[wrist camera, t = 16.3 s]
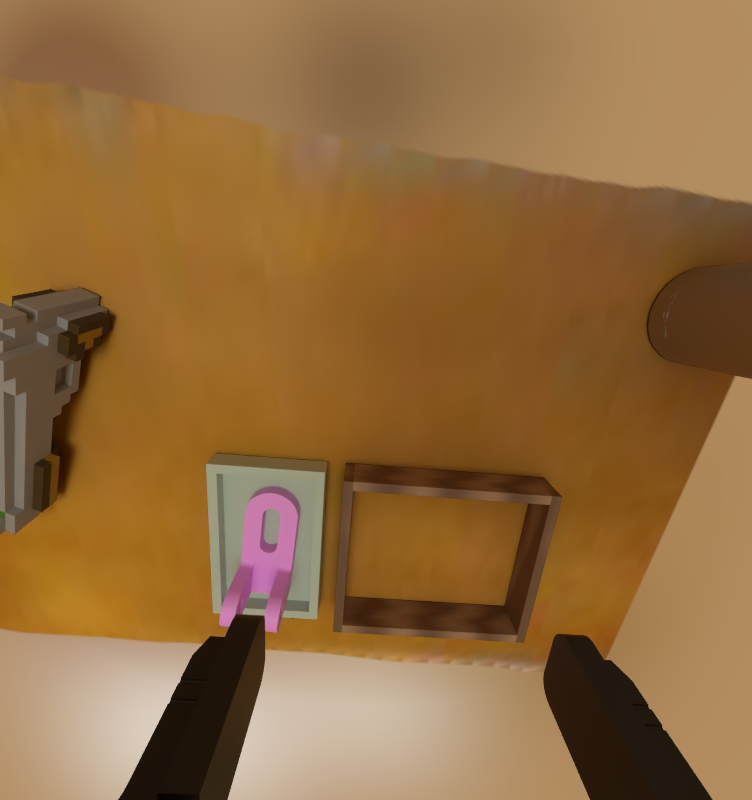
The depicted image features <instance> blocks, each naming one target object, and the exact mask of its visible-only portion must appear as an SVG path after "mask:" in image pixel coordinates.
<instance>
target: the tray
mask: <svg viewBox="0 0 752 800" xmlns="http://www.w3.org/2000/svg"><path fill="white" fill-rule="evenodd" d="M327 469H328V462H325V461H312V460H298V459H285V458H271V457H258V456H244V455H231V454H217V453H216V454H215V455H214V456H213V457H212V458H211V459H210V460H209V461H208V462H207V463H206V475H207V496H208V517H209V538H210V559H211V579H212V600H213V613H218V614H221V609H222V605H223V602H224V599H225V596H226V593H227V591H228V589H229V587H230V585H231V583H232V581H233V579H234V577H235V575H236V573H237V571H238V568H239V566H240V563H241V557H242V544H243V532H244V520H245V510H246V507H247V505H248V503H249V501H250V500H251V498H252V496H253V495H254V494H255V493H256V492H257V491H259V490H260V489H262V488H265V487H270V486H276V487H281V488H284V489H286V490H288V491H290V492H291V493H292V494H293V495H294V496H295V497H296V498H297V500H298V502H299V505H300V517H299V525H298V533H297V541H296V548H295V556H294V564H293V572H292V580H291V587H290V591H289V594H288V598H287V602H286V605H285V609H284V612H283V616H282V617H287V618H304V619H317V617H318V611H319V605H320V595H321V577H322V559H323V541H324V523H325V505H326V487H327ZM279 524H280V514H279V512H278V511H277V510H275V509H267V510H266V517H265V527H264V540H265V542H266V543H268V544H277V542H278V533H279ZM269 596H270V594H264V593H256V592H251V594H250V596H249V598H248V601H247V603H246V606H245V608H244V611H243V613H242V614H248V615H265V610H266V606H267V602H268V599H269Z"/></svg>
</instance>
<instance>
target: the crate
mask: <svg viewBox="0 0 752 800" xmlns="http://www.w3.org/2000/svg"><path fill="white" fill-rule="evenodd" d="M353 491H360V492H374V493H388V494H403V495H417V496H431V497H445V498H459V499H473V500H487V501H501V502H515V503H529V504H528V508H527V513H526V517H525V521H524V525H523V530H522V534H521V538H520V543H519V547H518V551H517V555H516V560H515V564H514V568H513V573H512V577H511V581H510V585H509V590H508V594H507V598H506V602H505V606H492V605H476V604H459V603H443V602H426V601H409V600H393V599H376V598H360V597H345V589H346V576H347V564H348V551H349V538H350V526H351V513H352V500H353ZM561 499H562V496H561V495H560V494H559V493H558V492H557V491H556V490H555V489H554V488H553V487H552V486H551V485H550V484H549V483H548V482H547V481H546V480H545V479H544V478H541V477H528V476H514V475H501V474H487V473H474V472H460V471H447V470H433V469H420V468H406V467H393V466H379V465H366V464H352V463H346V468H345V475H344V481H343V496H342V510H341V524H340V539H339V553H338V567H337V582H336V596H335V610H334V625H333V632H346V633H363V634H381V635H399V636H416V637H434V638H452V639H469V640H487V641H505V642H522V643H524V641H525V637H526V633H527V629H528V626H529V622H530V618H531V614H532V610H533V606H534V603H535V599H536V595H537V591H538V587H539V583H540V580H541V576H542V572H543V568H544V564H545V560H546V557H547V553H548V549H549V545H550V541H551V537H552V534H553V530H554V526H555V522H556V518H557V515H558V511H559V507H560V503H561Z"/></svg>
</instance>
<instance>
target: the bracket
mask: <svg viewBox="0 0 752 800" xmlns="http://www.w3.org/2000/svg"><path fill="white" fill-rule="evenodd" d="M267 509H275V510H277V511H278V512H279V514H280V524H279V533H278V542H277V544H268V543H266V542H265V540H264V527H265V517H266V510H267ZM299 517H300V505H299V502H298V500H297V498H296V497H295V496H294V495H293V494H292V493H291V492H290V491H288V490H286V489H284V488H281V487H276V486H270V487H265V488H262V489H260V490H259V491H257V492H256V493H255V494H254V495H253V496H252V498H251V500H250V501H249V503H248V505H247V507H246V510H245V520H244V532H243V544H242V557H241V563H240V566H239V568H238V571H237V573H236V575H235V577H234V579H233V581H232V583H231V585H230V587H229V589H228V591H227V593H226V596H225V599H224V602H223V605H222V609H221V614H220V626H226V627H230V624H231V622H232V620H233V618H234V616H235V615H236V614H242V613H243V611H244V608H245V606H246V603H247V601H248V598H249V596H250V594H251V592H256V593H264V594H270V596H269V599H268V602H267V606H266V610H265V615H264V616H265V631H268V632H276V633H277V632H278V630H279V627H280V623H281V620H282V616H283V612H284V609H285V605H286V602H287V598H288V594H289V591H290V587H291V580H292V572H293V564H294V556H295V548H296V541H297V533H298V525H299Z"/></svg>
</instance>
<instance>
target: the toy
mask: <svg viewBox="0 0 752 800" xmlns="http://www.w3.org/2000/svg"><path fill="white" fill-rule="evenodd" d="M99 298H100V296H98V295H95V294H93V293H91V292H89V291H87V290H84V289H82V288H75V289H70V290H65V291H60V292H56V291H54V290H52V289H49V290H44V291H39V292H33V293H28V294H22V295H17V296H12V307H10V306H7V305H5V304H3V303H0V534H2V533H3V532H4V531H7V532H10V533H13V534H16V533H17V532H18V531H19V530H21V529H22V528H23V527H24V526H26V525H27V524H28V523H29V522H31V521H32V520H33V519H34V518H36V517H37V516H38V515H39V514H40V512H42V511H44V510H45V509H46V508H47V507H49V506H50V505H51V504H52V503H54V502H55V501H56V500H57V490H58V477H59V464H60V457H59V456H58V450H59V448H57V446H55V445H52V444H51V442H52V426H53V418H54V417H56V416H58V415H59V414H61V411H62V406H63V405H65V404H67V403H68V402H70V394H72V393H74V392H76V391H78V387H79V377H80V367H81V360H82V359H84V355H85V350H86V349H89V348H91V347H94V346H97V345H99V344H100V343H101V336H102V335H104V334H107V333H109V326H110V318H111V316H110V315H108V309H106V308H104V307H102V306H99Z"/></svg>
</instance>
